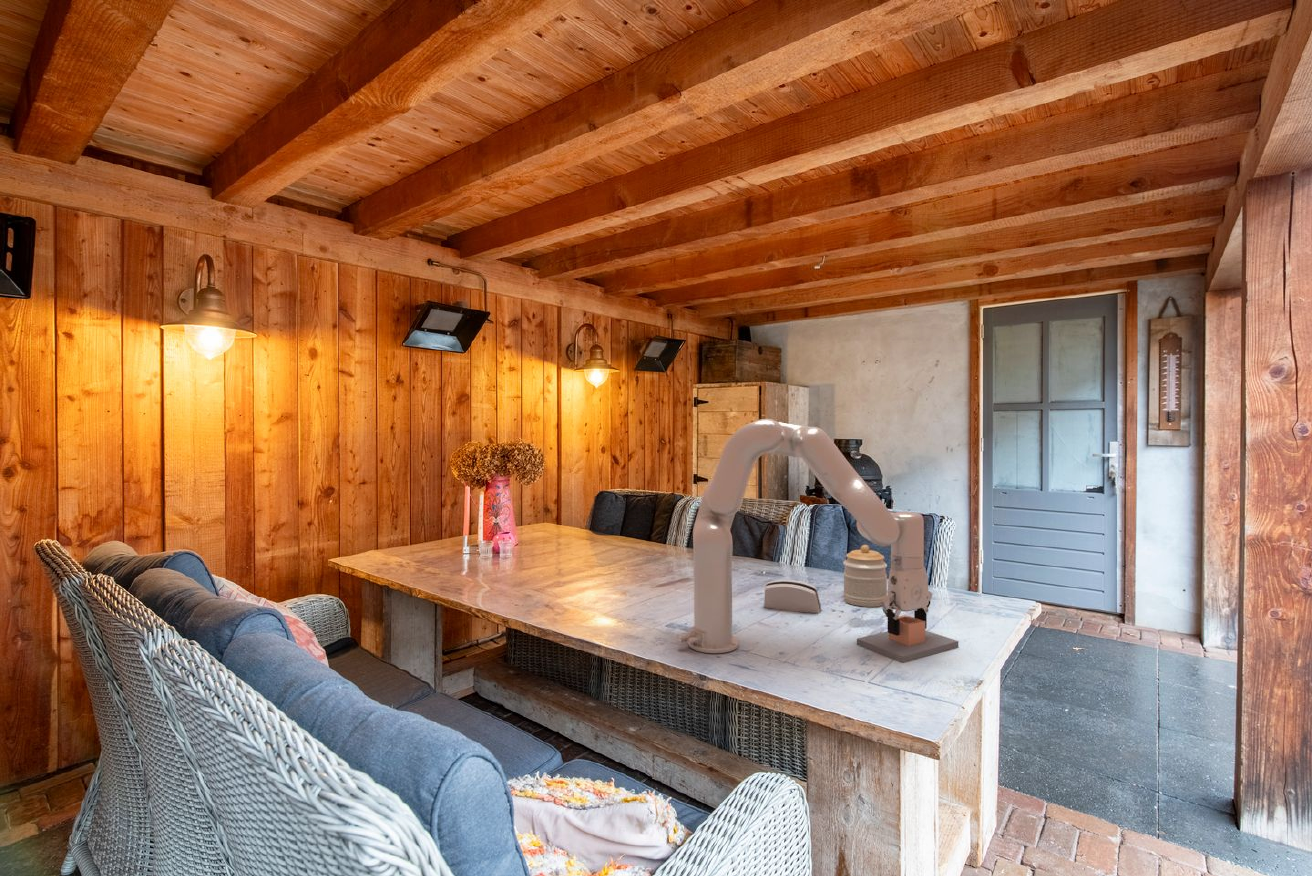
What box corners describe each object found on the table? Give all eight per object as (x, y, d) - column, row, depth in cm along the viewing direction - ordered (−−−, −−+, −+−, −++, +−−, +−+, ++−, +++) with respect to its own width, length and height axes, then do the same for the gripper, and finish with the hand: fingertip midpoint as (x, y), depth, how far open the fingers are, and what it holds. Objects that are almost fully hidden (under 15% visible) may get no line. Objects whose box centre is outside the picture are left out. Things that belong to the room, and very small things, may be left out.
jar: (873, 595, 206) (873, 540, 205) (895, 606, 193) (895, 548, 192) (835, 597, 203) (835, 541, 203) (855, 609, 191) (855, 550, 190)
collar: (908, 645, 155) (908, 625, 155) (888, 638, 160) (888, 618, 160) (925, 641, 158) (925, 621, 158) (905, 634, 163) (905, 615, 163)
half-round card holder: (822, 608, 191) (820, 580, 188) (819, 618, 187) (817, 589, 184) (767, 602, 198) (764, 575, 195) (763, 611, 194) (760, 583, 190)
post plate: (902, 662, 148) (902, 639, 148) (856, 644, 160) (856, 622, 160) (958, 647, 158) (958, 625, 158) (911, 631, 170) (911, 610, 170)
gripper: (895, 569, 151) (895, 641, 151) (943, 561, 159) (943, 629, 160) (870, 563, 158) (870, 632, 158) (917, 555, 166) (917, 621, 166)
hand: (907, 630), depth 159 cm, fingers open, 9 cm apart
